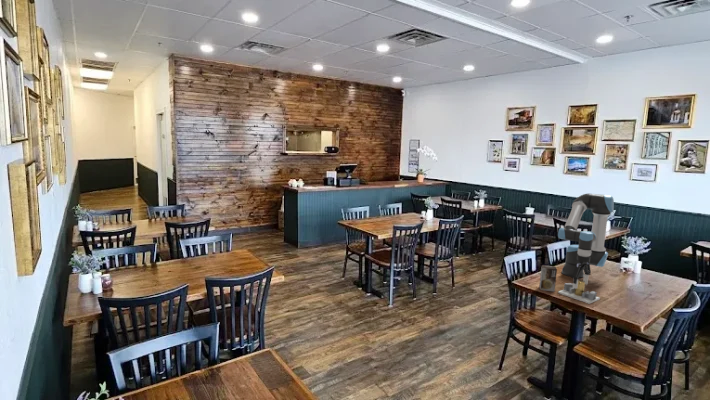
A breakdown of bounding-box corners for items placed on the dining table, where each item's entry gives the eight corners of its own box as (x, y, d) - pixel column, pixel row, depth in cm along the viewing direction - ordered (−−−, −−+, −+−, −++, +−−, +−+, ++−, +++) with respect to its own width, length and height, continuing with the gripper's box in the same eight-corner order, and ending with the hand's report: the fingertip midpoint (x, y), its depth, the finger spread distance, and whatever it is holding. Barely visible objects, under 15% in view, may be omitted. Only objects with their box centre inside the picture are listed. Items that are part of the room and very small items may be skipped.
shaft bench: (557, 293, 263) (558, 285, 262) (568, 289, 271) (569, 281, 270) (589, 303, 247) (590, 295, 246) (599, 299, 254) (600, 291, 254)
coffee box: (553, 288, 271) (555, 266, 268) (554, 291, 265) (557, 269, 262) (539, 286, 274) (541, 264, 271) (540, 289, 268) (542, 267, 265)
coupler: (580, 296, 255) (582, 283, 253) (572, 293, 259) (574, 281, 258) (584, 295, 258) (586, 282, 256) (576, 292, 262) (578, 279, 261)
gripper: (580, 259, 244) (576, 291, 248) (599, 253, 258) (595, 283, 262) (568, 256, 250) (564, 287, 254) (587, 250, 264) (583, 280, 268)
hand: (580, 285), depth 258 cm, fingers open, 13 cm apart
